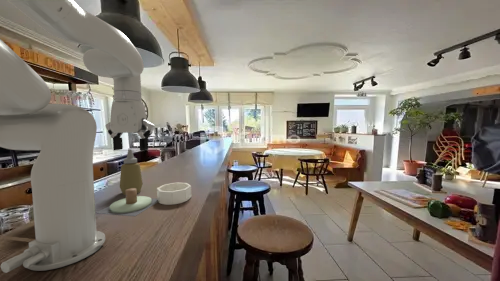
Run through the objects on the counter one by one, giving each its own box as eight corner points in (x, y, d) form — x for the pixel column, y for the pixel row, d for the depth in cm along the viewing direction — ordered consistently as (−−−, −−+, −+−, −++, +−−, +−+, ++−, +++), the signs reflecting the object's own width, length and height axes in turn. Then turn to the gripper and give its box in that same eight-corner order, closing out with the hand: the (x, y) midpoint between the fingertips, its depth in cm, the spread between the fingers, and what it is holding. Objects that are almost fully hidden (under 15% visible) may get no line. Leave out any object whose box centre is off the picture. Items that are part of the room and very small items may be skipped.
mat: (135, 218, 58) (135, 216, 58) (94, 214, 60) (94, 213, 60) (163, 200, 72) (163, 198, 72) (129, 198, 74) (128, 196, 74)
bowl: (181, 207, 66) (180, 192, 66) (151, 205, 68) (150, 191, 67) (195, 195, 77) (194, 183, 76) (169, 194, 78) (168, 182, 78)
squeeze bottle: (135, 197, 75) (133, 150, 74) (114, 197, 75) (112, 150, 74) (147, 190, 83) (145, 148, 82) (128, 190, 83) (126, 148, 82)
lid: (134, 214, 59) (134, 197, 59) (100, 211, 61) (99, 194, 60) (158, 199, 71) (158, 185, 70) (129, 197, 73) (128, 183, 72)
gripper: (94, 97, 61) (98, 151, 63) (144, 95, 59) (146, 152, 60) (114, 99, 69) (117, 148, 70) (159, 98, 66) (161, 149, 67)
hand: (131, 150), depth 65 cm, fingers open, 9 cm apart
